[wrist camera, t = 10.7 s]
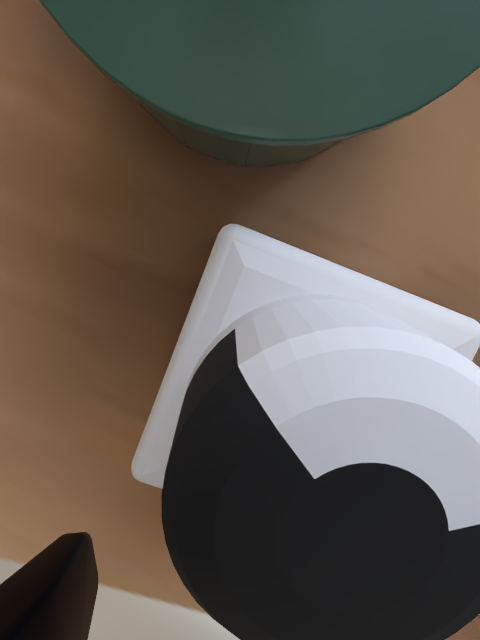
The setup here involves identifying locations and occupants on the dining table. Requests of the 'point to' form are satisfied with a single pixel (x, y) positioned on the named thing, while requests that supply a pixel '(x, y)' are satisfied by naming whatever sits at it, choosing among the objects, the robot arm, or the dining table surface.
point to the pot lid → (278, 60)
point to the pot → (237, 145)
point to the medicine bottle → (318, 451)
